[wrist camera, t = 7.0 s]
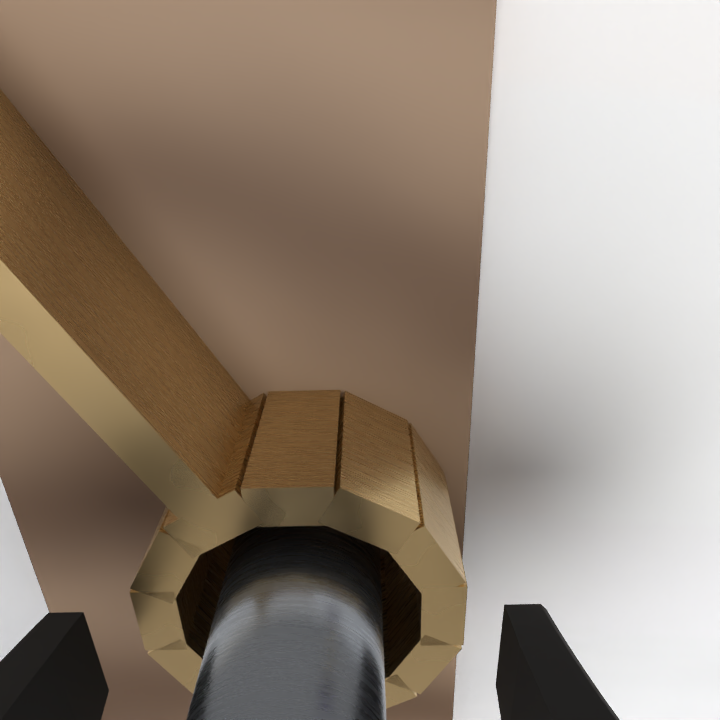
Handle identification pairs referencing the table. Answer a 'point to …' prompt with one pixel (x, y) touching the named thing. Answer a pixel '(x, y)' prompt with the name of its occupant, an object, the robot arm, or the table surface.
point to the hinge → (215, 433)
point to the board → (253, 247)
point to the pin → (295, 630)
